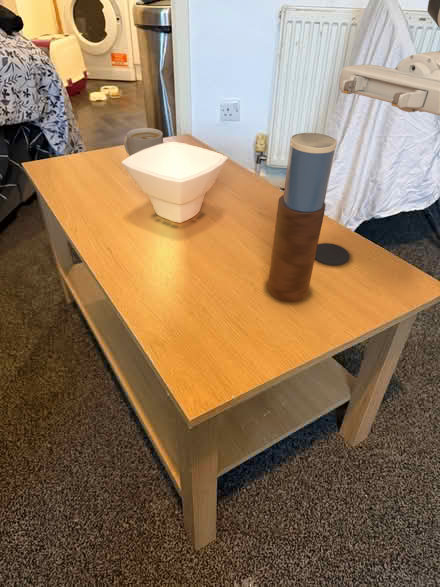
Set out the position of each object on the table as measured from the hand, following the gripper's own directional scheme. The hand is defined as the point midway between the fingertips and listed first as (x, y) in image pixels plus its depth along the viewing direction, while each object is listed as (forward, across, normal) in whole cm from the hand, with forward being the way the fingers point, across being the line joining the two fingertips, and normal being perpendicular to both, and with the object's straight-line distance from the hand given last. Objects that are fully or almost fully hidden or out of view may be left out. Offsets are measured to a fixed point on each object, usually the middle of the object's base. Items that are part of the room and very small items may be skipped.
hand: (369, 94), depth 63 cm
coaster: (-4, -3, +33) cm, 33 cm away
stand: (+12, 0, +33) cm, 35 cm away
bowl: (+13, -36, +33) cm, 51 cm away
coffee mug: (+3, -67, +33) cm, 75 cm away
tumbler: (+12, 0, +15) cm, 19 cm away
